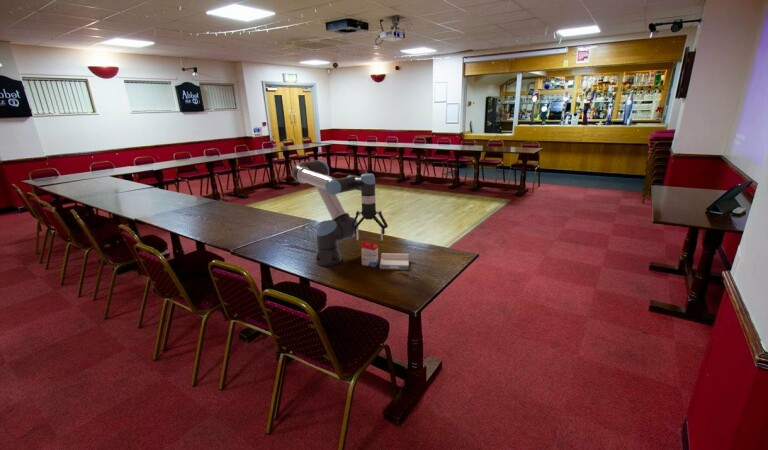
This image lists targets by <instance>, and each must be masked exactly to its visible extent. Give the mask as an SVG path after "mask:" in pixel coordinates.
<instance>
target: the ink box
mask: <svg viewBox="0 0 768 450" xmlns="http://www.w3.org/2000/svg"><path fill="white" fill-rule="evenodd" d="M360 247H361V250H360V251H361V265H362V266H368V267H373V268H375V267H376V266H378V264H379V245H377V244H375V242H371V241H365V240H361V246H360Z"/></svg>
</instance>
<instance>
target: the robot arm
mask: <svg viewBox="0 0 768 450" xmlns="http://www.w3.org/2000/svg"><path fill="white" fill-rule="evenodd" d="M291 171H292V172H291V175H292V178H293V179H294V180H295V181H296V182H298V183H300V184H309V185H312V186H314V187H315V188H316V189H317V191H318V194H319V196H320V198H321V200H322V201H323V203H324V206H325V207H326V209H327V211H328V213H329V215H330V217H331V219H328V220H323V221H320V222H319V223H317V224H316V226H315V227H316V229H315V234H316V245H317V249H316V253H315V259H314V261H315V264H317V265H319V266H324V267H329V266H335V265H338V264H340V263H341V262H342V255H341V252H340V250H339V246H338V243H339V242H340V241H344V240H347V239H352V238H353V237H355V236H356V240H357V241H359V239H360V238H359V237H360V235H359V226H360V224H361V223H362V222H363V221H364V220H366V221H367V220H369V221H371V220H373V221H374V222H375V223H377V225H378V226H379V227H380V240H381V241H383V238H384V235H385V232H386V231H385V230H386V229H387V228H388V224H387V222H386V219H385V217H384V216H383V212H382V210H379V211H377V210H376V208H377V206H376V205H377V204H376V177H375V175H374V173H362V174H360V175H359V176H358V175H355V174H350V175H347V176H345V177H340V178H336V177H334V176H329V175H330V167H329V166H328V163H326V162H325V161H324V160H322V159H318V160H317V159H316V160H310V161H302V162H298V163H296V164H295V165H294V166H293V168H292V170H291ZM351 191H360V192H361V210H356V212H355V217H354V216H351V215H350V214H349V213H348V212H346V211H345V210H344V208H343V206H342V204H341V202H340V200H339V198H338V196H337V194H341V193H342V194H343V193H346V192H351ZM360 215H361V216H362V217H361V218H360V219H359V221H358V220H357V219H358V217H359V216H360ZM376 215H378V216H379V218H380V219H378V217H377V216H376Z"/></svg>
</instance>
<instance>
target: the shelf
mask: <svg viewBox="0 0 768 450" xmlns="http://www.w3.org/2000/svg"><path fill="white" fill-rule="evenodd" d="M409 257H410V254H409V253H391V252H390V253H389V252H388V253H387V252H386V253H385V252H382V253H381V254H380V262H379V270H402V271H403V270H409V269H410V268H409V265H410V263H409V262H410V261H409V259H410V258H409Z"/></svg>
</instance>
